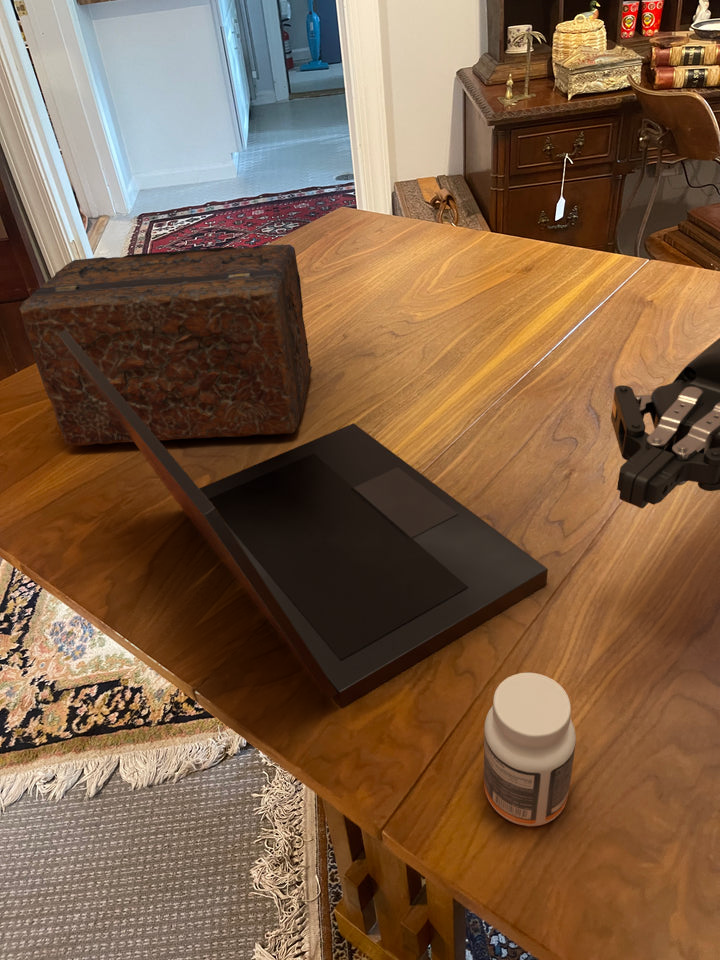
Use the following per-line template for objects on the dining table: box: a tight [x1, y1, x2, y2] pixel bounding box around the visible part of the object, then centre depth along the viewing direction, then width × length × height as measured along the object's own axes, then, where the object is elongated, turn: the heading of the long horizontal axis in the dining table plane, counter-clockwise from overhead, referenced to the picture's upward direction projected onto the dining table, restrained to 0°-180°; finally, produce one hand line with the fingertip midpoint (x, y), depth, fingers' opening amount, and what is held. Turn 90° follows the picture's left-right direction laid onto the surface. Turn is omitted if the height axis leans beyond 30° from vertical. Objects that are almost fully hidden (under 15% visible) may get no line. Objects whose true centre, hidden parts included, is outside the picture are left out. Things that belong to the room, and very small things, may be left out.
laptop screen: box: [58, 330, 337, 700], centre depth 60 cm, size 22×32×1 cm
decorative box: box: [19, 244, 313, 447], centre depth 91 cm, size 31×20×20 cm
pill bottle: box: [483, 672, 577, 827], centre depth 48 cm, size 6×6×10 cm
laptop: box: [198, 423, 549, 709], centre depth 72 cm, size 22×32×2 cm
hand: (632, 492), depth 45 cm, fingers closed
